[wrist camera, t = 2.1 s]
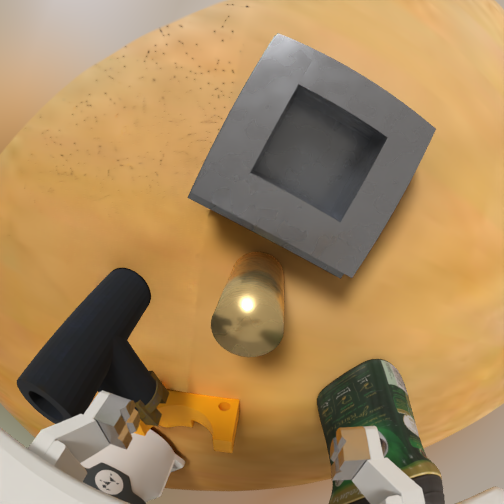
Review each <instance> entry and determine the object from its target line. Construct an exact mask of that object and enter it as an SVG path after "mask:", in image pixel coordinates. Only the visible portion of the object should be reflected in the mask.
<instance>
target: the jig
mask: <svg viewBox="0 0 504 504" xmlns="http://www.w3.org/2000/svg"><path fill="white" fill-rule="evenodd" d="M435 130H436V129H435V128H434V127H433V126H432V125H431V124H429V123H428V122H427V121H426V120H425V119H423V118H422V117H421V116H420V115H418V114H417V113H416V112H414V111H413V110H412V109H411V108H409V107H408V106H407V105H405V104H404V103H403V102H401V101H400V100H398V99H397V98H396V97H394V96H393V95H391V94H390V93H388V92H387V91H386V90H384V89H383V88H381V87H380V86H378V85H377V84H375V83H373V82H372V81H370V80H369V79H367V78H366V77H364V76H362V75H361V74H359V73H357V72H356V71H354V70H352V69H351V68H349V67H347V66H345V65H344V64H342V63H340V62H338V61H336V60H334V59H333V58H331V57H329V56H327V55H325V54H323V53H321V52H319V51H317V50H315V49H313V48H311V47H309V46H306V45H304V44H302V43H300V42H298V41H295V40H293V39H291V38H288V37H286V36H284V35H281V34H279V33H277V35H275V36H274V38H273V39H272V41H271V43H270V44H269V46H268V47H267V49H266V50H265V52H264V54H263V55H262V57H261V59H260V60H259V62H258V64H257V65H256V67H255V69H254V70H253V72H252V74H251V75H250V77H249V79H248V80H247V82H246V84H245V86H244V87H243V89H242V91H241V93H240V94H239V96H238V98H237V100H236V102H235V103H234V105H233V107H232V109H231V111H230V113H229V114H228V116H227V118H226V120H225V122H224V124H223V126H222V128H221V130H220V132H219V134H218V135H217V137H216V139H215V141H214V143H213V145H212V147H211V149H210V151H209V153H208V155H207V157H206V159H205V162H204V164H203V166H202V168H201V170H200V172H199V174H198V176H197V178H196V181H195V183H194V185H193V187H192V189H191V191H190V194H189V196H188V198H189V199H191V200H193V201H195V202H197V203H199V204H201V205H203V206H205V207H207V208H209V209H211V210H213V211H215V212H217V213H218V214H220V215H222V216H224V217H226V218H228V219H230V220H232V221H234V222H236V223H238V224H240V225H242V226H243V227H245V228H247V229H249V230H251V231H253V232H255V233H257V234H259V235H261V236H262V237H264V238H266V239H268V240H270V241H272V242H274V243H276V244H278V245H279V246H281V247H283V248H285V249H287V250H289V251H291V252H293V253H294V254H296V255H298V256H300V257H302V258H304V259H306V260H307V261H309V262H311V263H313V264H315V265H317V266H319V267H320V268H322V269H324V270H326V271H328V272H330V273H331V274H333V275H335V276H337V277H339V278H341V277H342V276H343V274H346V275H347V276H349V277H351V278H352V277H353V276H354V274H355V273H356V271H357V270H358V268H359V267H360V265H361V264H362V262H363V261H364V259H365V258H366V256H367V254H368V253H369V251H370V250H371V248H372V247H373V245H374V243H375V242H376V240H377V239H378V237H379V235H380V234H381V232H382V230H383V229H384V227H385V225H386V224H387V222H388V220H389V219H390V217H391V215H392V213H393V212H394V210H395V208H396V206H397V205H398V203H399V201H400V199H401V197H402V196H403V194H404V192H405V190H406V188H407V186H408V185H409V183H410V181H411V179H412V177H413V175H414V173H415V171H416V169H417V167H418V165H419V163H420V161H421V159H422V157H423V155H424V153H425V151H426V149H427V147H428V145H429V143H430V141H431V139H432V136H433V134H434V132H435Z"/></svg>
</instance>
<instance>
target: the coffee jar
mask: <svg viewBox="0 0 504 504" xmlns="http://www.w3.org/2000/svg"><path fill="white" fill-rule="evenodd" d="M317 405H318V411H319V416H320V420H321V424H322V428H323V431H324V435H325V439H326V443H327V448H328V453H329V458H330V447H331V443H332V440H333V438H335V437H336V431H337V429H338V428H344V427H360V426H363V427H365V426H376V427H377V429H378V434H379V438H380V442H381V447H382V451H383V456H384V458H388V459H389V460H390V461H392V462H393V463H394V464H395V465H396V466H397V467H398V468H399V469H400V470H402V471H403V472H404V473H405V474H406V475H407V476H408V477H409V478H411V479H412V480H413V481H414V482H415V483H416V484H417V485H419V486H420V487H421V488H422V491H423V495H424V500H425V504H445V501H444V494H443V486H442V480H441V479H442V476H441V473H440V471H439V470H438V468H437V467H436V466H435V464H434V463H432V462H431V461H430V460H429V459H428V458H427V457H426V454H425V452H424V449H423V446H422V444H421V441H420V438H419V435H418V431H417V427H416V424H415V420H414V416H413V412H412V408H411V405H410V401H409V397H408V394H407V390H406V387H405V384H404V382H403V379H402V377H401V375H400V373H399V372H398V370H397V369H396V368H395V367H394V366H393V365H392V364H391V363H389V362H388V361H385V360H382V359H372V360H368V361H365V362H363V363H361V364H360V365H358V366H356V367H354V368H353V369H351V370H349V371H348V372H346V373H345V374H343V375H342V376H340V377H339V378H337V379H336V380H334V381H333V382H331V383H330V384H329V385H328V386H326V387H325V388H324V389H323V390H322V391H321V392H320V394H319V396H318V398H317ZM330 463H331V466H332V465H333V463H334V462H333V461H332V460H331V459H330ZM329 504H370V503H369V501H368V500H367V499H366V498H365V497H364V495H363V494H362V493H361V492H360V490H359V489H358V488H357V487H356V485H355V484H354V483H353V481H352V480H333V490H332V495H331V498H330V501H329Z"/></svg>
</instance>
